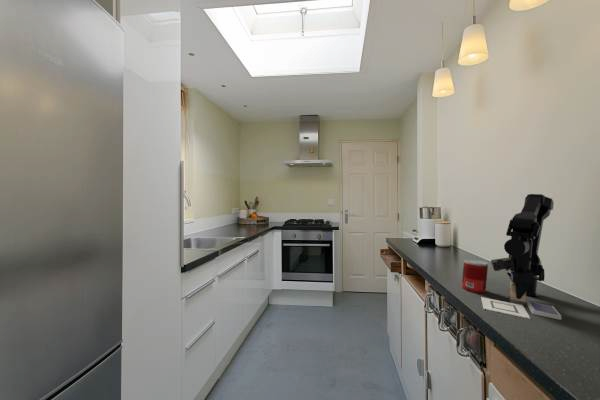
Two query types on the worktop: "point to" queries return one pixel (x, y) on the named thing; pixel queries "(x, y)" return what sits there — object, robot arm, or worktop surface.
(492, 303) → the print card
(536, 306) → the ink pad
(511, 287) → the stamp
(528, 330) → the worktop surface
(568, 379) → the worktop surface
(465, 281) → the canned food
